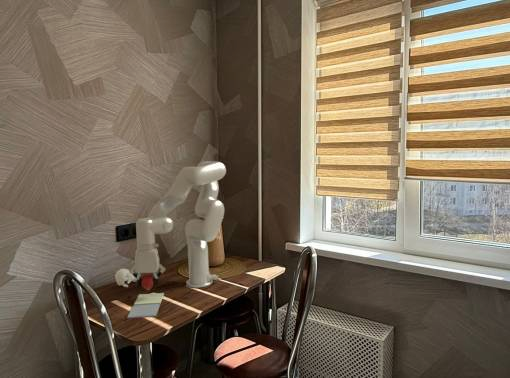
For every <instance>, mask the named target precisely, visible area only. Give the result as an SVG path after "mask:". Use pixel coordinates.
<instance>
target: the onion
mask: <svg viewBox="0 0 510 378" xmlns="http://www.w3.org/2000/svg"><path fill="white" fill-rule="evenodd" d="M141 278H142V280H141V285H142V287H141V288H143V289H145V290H146V291H150V290H151V289H152V288H153V287H154V278H155V277H154V275H152V274H151V273H145V275H144V276H142V277H141Z"/></svg>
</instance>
